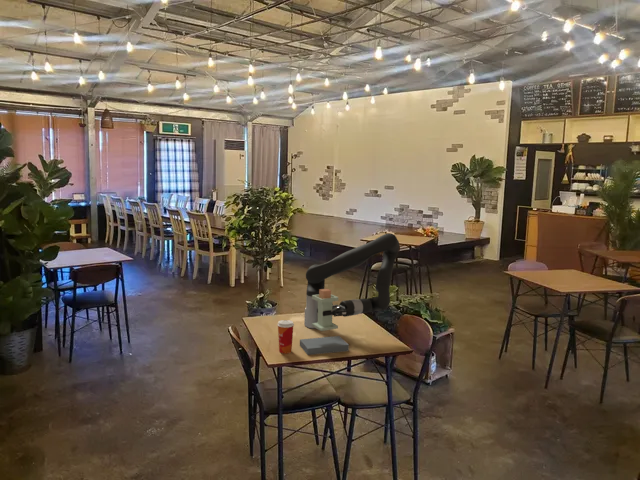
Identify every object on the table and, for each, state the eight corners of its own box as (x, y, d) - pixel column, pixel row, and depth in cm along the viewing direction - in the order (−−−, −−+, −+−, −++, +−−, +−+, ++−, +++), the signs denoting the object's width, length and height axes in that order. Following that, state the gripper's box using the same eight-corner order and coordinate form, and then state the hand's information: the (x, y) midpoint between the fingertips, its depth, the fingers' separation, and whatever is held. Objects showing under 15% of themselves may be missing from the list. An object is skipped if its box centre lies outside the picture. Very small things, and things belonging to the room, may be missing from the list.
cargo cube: (319, 297, 235) (319, 289, 235) (326, 296, 237) (326, 288, 237) (323, 299, 232) (323, 291, 231) (330, 298, 234) (331, 290, 233)
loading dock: (307, 355, 228) (307, 348, 228) (299, 345, 241) (299, 339, 240) (348, 350, 235) (348, 344, 234) (339, 341, 247) (339, 335, 247)
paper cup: (276, 348, 236) (277, 319, 234) (293, 348, 236) (293, 319, 235) (276, 354, 228) (277, 324, 226) (293, 354, 229) (294, 324, 227)
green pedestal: (311, 325, 238) (312, 295, 236) (328, 323, 242) (328, 293, 240) (321, 331, 230) (321, 299, 228) (338, 328, 235) (338, 297, 232)
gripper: (343, 296, 248) (312, 300, 240) (359, 303, 235) (327, 308, 227) (343, 311, 249) (312, 316, 241) (359, 319, 236) (327, 324, 228)
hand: (320, 312), depth 234 cm, fingers closed on green pedestal, 5 cm apart
